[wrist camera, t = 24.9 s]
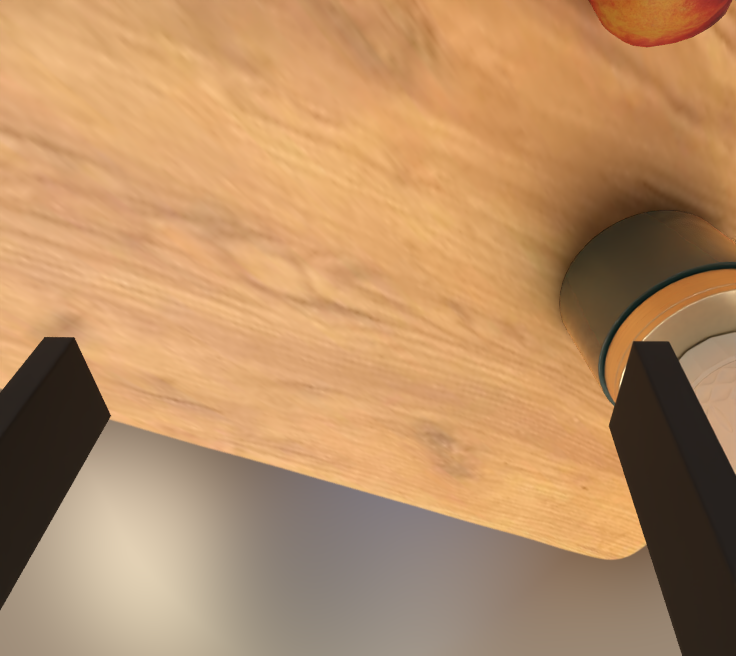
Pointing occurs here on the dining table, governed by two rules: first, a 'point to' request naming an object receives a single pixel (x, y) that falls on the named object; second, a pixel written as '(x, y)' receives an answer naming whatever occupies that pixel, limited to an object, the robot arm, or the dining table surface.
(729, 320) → the jar lid
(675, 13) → the fruit
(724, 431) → the white cup
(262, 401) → the dining table surface
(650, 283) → the jar
